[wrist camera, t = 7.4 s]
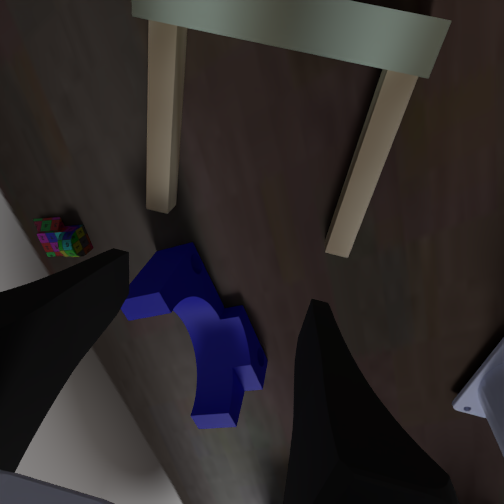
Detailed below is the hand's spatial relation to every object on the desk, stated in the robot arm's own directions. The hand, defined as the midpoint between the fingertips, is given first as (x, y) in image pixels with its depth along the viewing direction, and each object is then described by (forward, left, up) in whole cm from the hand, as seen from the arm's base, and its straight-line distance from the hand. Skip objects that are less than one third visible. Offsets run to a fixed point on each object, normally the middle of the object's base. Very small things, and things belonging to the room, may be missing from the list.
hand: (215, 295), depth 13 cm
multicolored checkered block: (+13, +7, -11) cm, 18 cm away
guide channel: (0, -4, -10) cm, 11 cm away
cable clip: (+2, +10, -10) cm, 14 cm away
